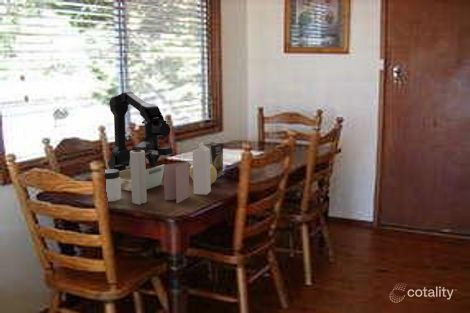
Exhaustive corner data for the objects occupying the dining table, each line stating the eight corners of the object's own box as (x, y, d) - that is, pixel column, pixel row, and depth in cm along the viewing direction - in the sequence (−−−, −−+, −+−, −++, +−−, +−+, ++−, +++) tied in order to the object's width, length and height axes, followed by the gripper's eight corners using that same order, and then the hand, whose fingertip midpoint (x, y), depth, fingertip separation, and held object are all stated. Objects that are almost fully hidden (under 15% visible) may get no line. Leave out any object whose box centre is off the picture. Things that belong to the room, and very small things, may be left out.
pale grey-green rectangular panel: (138, 190, 259) (143, 170, 256) (159, 183, 272) (164, 164, 268) (141, 192, 258) (146, 171, 255) (161, 185, 271) (166, 165, 268)
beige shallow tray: (113, 188, 266) (112, 173, 264) (135, 181, 279) (135, 167, 278) (137, 192, 259) (136, 176, 258) (159, 184, 272) (159, 169, 271)
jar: (123, 200, 245) (122, 172, 243) (103, 202, 241) (102, 174, 239) (117, 195, 253) (116, 168, 251) (98, 198, 249) (97, 170, 247)
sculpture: (186, 186, 269) (186, 162, 267) (199, 180, 280) (199, 158, 278) (209, 188, 264) (208, 164, 262) (221, 182, 275) (220, 160, 273)
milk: (193, 194, 254) (191, 143, 250) (197, 190, 260) (196, 141, 256) (207, 194, 253) (205, 143, 249) (211, 191, 258) (209, 141, 254)
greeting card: (188, 196, 250) (187, 161, 247) (196, 200, 244) (196, 164, 241) (163, 200, 244) (162, 164, 241) (172, 204, 238) (170, 167, 235)
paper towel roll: (137, 199, 245) (134, 149, 242) (149, 201, 243) (147, 149, 239) (127, 204, 239) (125, 152, 235) (140, 205, 237) (138, 152, 233)
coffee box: (213, 179, 283) (213, 145, 280) (202, 177, 286) (201, 144, 283) (223, 175, 290) (223, 143, 287) (213, 174, 294) (212, 142, 291)
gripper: (123, 135, 258) (124, 170, 260) (157, 138, 248) (158, 174, 251) (139, 132, 267) (140, 166, 270) (172, 134, 258) (174, 169, 261)
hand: (152, 169), depth 263 cm, fingers closed
